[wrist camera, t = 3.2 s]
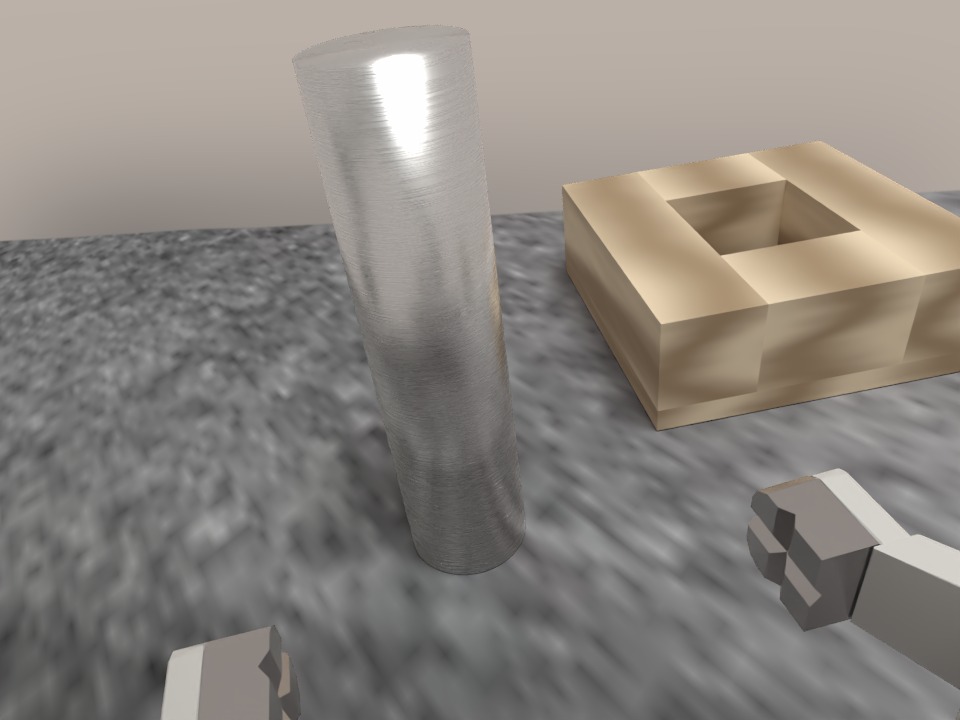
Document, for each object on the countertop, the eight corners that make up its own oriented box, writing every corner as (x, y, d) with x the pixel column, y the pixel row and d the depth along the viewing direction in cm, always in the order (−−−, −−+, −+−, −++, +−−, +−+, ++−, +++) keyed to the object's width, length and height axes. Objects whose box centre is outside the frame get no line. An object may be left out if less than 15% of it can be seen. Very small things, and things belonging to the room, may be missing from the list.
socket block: (656, 430, 28) (660, 324, 25) (566, 270, 40) (562, 185, 37) (988, 365, 29) (1029, 255, 26) (805, 227, 40) (820, 140, 38)
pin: (418, 585, 23) (286, 79, 14) (408, 498, 27) (297, 42, 17) (537, 561, 24) (482, 48, 14) (513, 477, 27) (457, 18, 18)
